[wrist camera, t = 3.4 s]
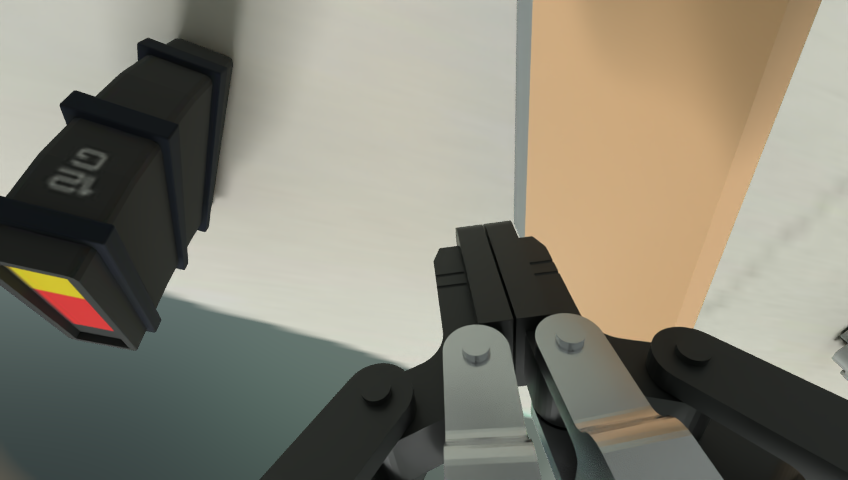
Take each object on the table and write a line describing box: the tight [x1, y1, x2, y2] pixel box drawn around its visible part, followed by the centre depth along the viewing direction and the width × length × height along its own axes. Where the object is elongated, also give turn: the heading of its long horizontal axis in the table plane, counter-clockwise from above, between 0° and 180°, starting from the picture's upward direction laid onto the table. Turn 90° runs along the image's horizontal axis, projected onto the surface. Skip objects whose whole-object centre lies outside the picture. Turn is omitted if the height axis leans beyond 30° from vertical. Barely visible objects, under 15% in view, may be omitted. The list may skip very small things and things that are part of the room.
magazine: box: [0, 38, 233, 351], centre depth 22 cm, size 4×13×15 cm, turn 157°
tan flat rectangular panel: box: [525, 0, 822, 342], centre depth 16 cm, size 22×11×1 cm
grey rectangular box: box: [514, 0, 533, 238], centre depth 22 cm, size 22×11×6 cm, turn 7°
